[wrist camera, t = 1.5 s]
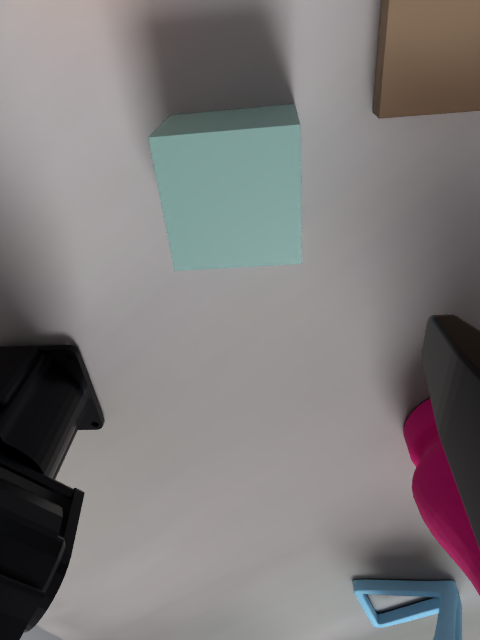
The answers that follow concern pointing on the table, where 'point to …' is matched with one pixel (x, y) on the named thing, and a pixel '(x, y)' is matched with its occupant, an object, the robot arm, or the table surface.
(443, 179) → the table surface
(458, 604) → the chair
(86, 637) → the table surface
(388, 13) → the walnut board
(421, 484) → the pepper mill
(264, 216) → the teal brick
